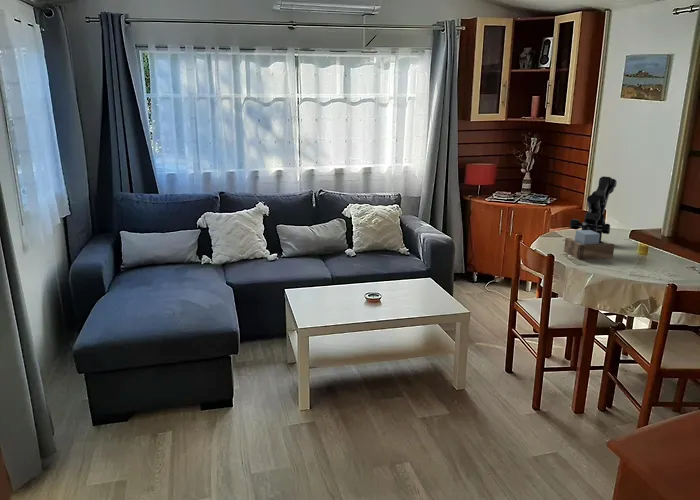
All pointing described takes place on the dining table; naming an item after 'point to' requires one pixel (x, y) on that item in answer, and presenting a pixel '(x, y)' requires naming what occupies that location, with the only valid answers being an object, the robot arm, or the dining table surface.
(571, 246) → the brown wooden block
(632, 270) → the dining table surface
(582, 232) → the slate block
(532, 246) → the dining table surface
